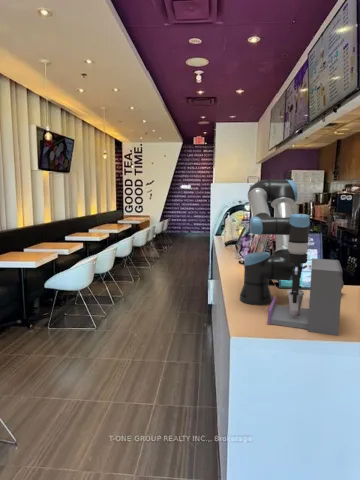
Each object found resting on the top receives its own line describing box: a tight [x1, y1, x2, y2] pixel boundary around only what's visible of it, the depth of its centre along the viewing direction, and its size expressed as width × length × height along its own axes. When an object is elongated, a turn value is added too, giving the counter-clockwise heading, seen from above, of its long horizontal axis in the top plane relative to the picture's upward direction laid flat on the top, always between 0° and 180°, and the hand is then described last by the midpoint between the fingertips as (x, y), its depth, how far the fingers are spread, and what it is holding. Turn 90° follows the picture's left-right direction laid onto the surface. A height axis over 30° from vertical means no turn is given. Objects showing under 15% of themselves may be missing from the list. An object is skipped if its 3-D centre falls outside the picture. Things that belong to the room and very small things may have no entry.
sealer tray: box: [267, 296, 309, 330], centre depth 144 cm, size 16×20×6 cm
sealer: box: [307, 258, 344, 336], centre depth 138 cm, size 10×23×24 cm, turn 159°
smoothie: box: [286, 288, 305, 316], centre depth 143 cm, size 6×6×14 cm
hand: (294, 306), depth 143 cm, fingers open, 8 cm apart
